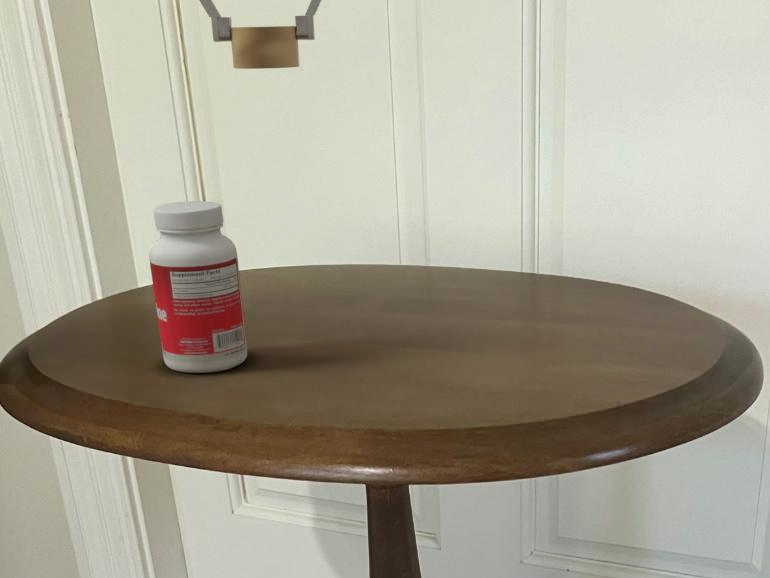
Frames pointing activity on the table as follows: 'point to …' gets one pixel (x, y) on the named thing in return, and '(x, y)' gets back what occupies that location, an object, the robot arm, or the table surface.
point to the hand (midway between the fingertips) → (265, 40)
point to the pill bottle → (197, 289)
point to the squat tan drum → (264, 47)
